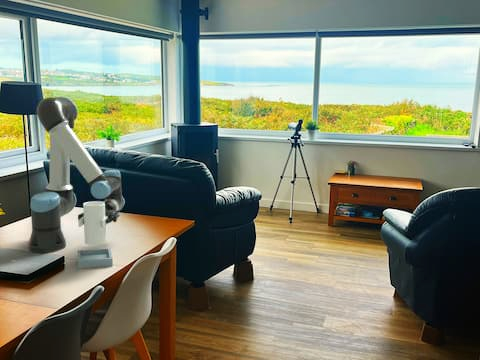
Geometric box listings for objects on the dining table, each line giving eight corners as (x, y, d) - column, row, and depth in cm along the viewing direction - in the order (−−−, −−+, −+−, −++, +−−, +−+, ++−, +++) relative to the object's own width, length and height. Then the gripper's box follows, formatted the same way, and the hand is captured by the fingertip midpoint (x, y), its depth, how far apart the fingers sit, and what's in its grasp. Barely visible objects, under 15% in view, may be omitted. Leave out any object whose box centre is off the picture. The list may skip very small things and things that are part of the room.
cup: (98, 237, 193) (97, 200, 190) (110, 241, 188) (109, 203, 185) (80, 242, 186) (79, 203, 183) (92, 246, 181) (90, 207, 178)
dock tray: (78, 268, 180) (77, 261, 180) (77, 257, 192) (77, 250, 192) (112, 265, 185) (112, 258, 184) (110, 254, 197) (110, 247, 196)
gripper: (132, 218, 204) (118, 233, 181) (84, 217, 204) (64, 232, 181) (131, 201, 202) (117, 215, 180) (83, 200, 202) (63, 213, 180)
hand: (90, 223), depth 181 cm, fingers closed on cup, 8 cm apart
